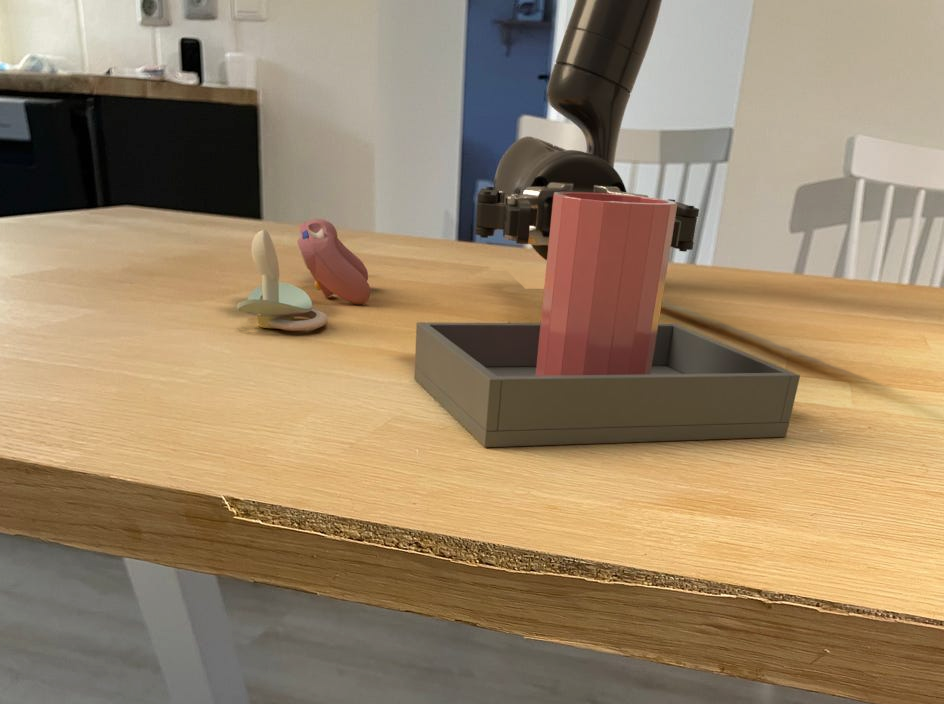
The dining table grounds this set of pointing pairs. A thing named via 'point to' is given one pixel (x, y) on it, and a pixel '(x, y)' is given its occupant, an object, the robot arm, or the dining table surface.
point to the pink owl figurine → (332, 262)
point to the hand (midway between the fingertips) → (595, 229)
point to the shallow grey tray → (600, 389)
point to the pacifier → (277, 294)
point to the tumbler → (603, 283)
